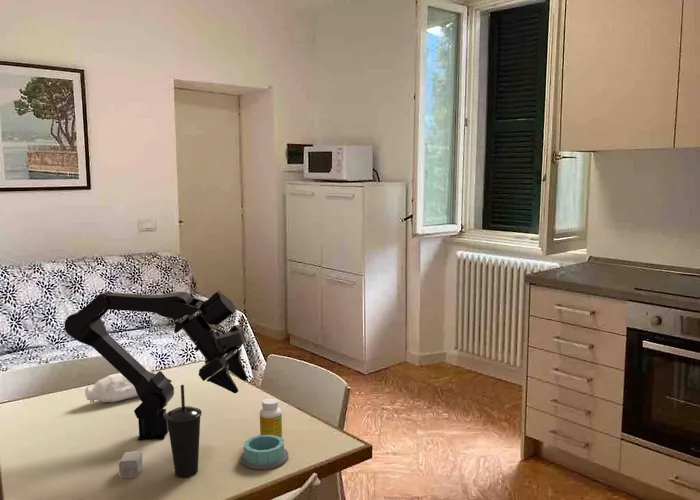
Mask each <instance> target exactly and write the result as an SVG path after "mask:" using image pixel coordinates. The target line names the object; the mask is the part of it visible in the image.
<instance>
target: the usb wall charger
mask: <svg viewBox="0 0 700 500" xmlns="http://www.w3.org/2000/svg"><path fill="white" fill-rule="evenodd" d="M143 466H144V463H143V453H142V451H138V450H137V451H126V452H124V454H123V455H122V457H121V458H120V459H119V463H118V471H119V475H118V476H119V478H120V479H128V478H129V479H131V478H137V477H138V476H139V475H140V473H141V470H142V468H143Z"/></svg>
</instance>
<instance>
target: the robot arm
mask: <svg viewBox="0 0 700 500" xmlns="http://www.w3.org/2000/svg"><path fill="white" fill-rule="evenodd" d="M109 310H111V311H112V310H113V311H128V312H144V313H153V314H156V315H159V316H160V317H163V318H167V319H172V320H176V321H175V322H174V324H175V325H174V331H173V333H174V334H178V333H179V332H180V331H181V330H183V331H184V333H185V334H186V335H187V336H188V338H189V339H190V341H191V342H192V343H193V344H194V345H195V347H194V348H193V349H194V351H195V352H198V351H199V352H200V354H201V355H202V356H203V357H204V358H205V360H204V363H205V364H203V366H201V367H200V368H199V370H198V376H199V378H200V379H201V380H202V382H204V381H206V382H207V383H212V384H213V385H216V386H218V387H221V388H223V389H225V390H227V391H229V392H232V393H233V394H237V393H238V392H239V389H238V387H237V384H236V383H235V381H234V380H233V378H232V376H231V373H232V374H233V375H235V376H236V377H238V378H239V379H240V380H242V381H243V382H245V381H246V380H248V375H247V373H246V371H245V368H244V365H243V363H242V360H241V353H242V350H243V349H242V345H244V344H245V342H246V341H247V338H246V335H245V334H246V331H245V330H244V328H243V327H242V328H241V326H239V325H238V324H236V325H232V326H231V327H230V330H229V331H228V332H226V333H224V334H223V333H222V332H221V331H220V330H219V331H218V330H214V329H213V327H212V326H219V325H221V324H222V323H223V322H224V321H226V320H227V319H228V318H230V317H231V316H232V315H234V314H235V313H236V311H237V310H236V305H234V303H233V301H232V299H230V298H228V297H227V296H226V295H225V294H224V293H223V294H222V293H221V291H219V290H217V291H216V292H214V293H213V294H212V295H211V296H210V297H209V298H207V300H202V299H198V298H195V297H192V296H191V294H190V293H189V292H187V291H176V292H169V293H164V294H155V295H154V294H140V293H139V294H138V293H124V292H123V293H122V292H112V291H109V290H108V291H104V292H102V293H99V294H98V295H97V296H95V298H94V299H93V300H91V302H89V303H87V305H85V306H84V307H83V308H82V309H81V310H79V311H77V312H74V313H72V314H71V315H69V316H68V317H66V319H65V321H64V330H65V333H66V334H67V335H68V336H70V337H72V338H73V339H74V340H76V341H77V342H79V343H82V344H84V345H86V346H90V347H92V348H93V349H94V350H95V351H96V352H97V353H99V354H100V355H101V356H102V358H103V359H105V360H106V361H107V363H109V364H110V365H111V366H112V367H113V368H114V369H115V370H116V371H117V372H118V373H121V374H122V375H123V376H124V377H125V378H126V379H127V380H128V381H129V382H130V383H132V384H133V386H134V387H135V390H136V392H137V395H138V396H137V397H138V398H139V400H140V401H141V402H140V404H138V406H137V407H136V408H135V409H134V411H133V413H134V415H135V417H136V419H138V421H137V423H138V437H137V438H136V439H137V441H142V442H143V441H157V440H158V441H160V440H161V441H162V440H165V438H166V437H167V434H169V429H168V423H167V420H166V418H165V415H166V414H167V409H166V408H165V407H167V405H168V403H169V402H170V401H171V400H172V399H173V397H174V394H175V387H174V385H173V384H172V379H169V378H167V377H166V375H165V374H164V373H163V372H162V371H161V370H158V371H157V372H156V373H154V374H153V373H151V372H149V371H147V370H146V369H145V368H146V367H144V366H143V365H142V364H141V363H140V362H139V361H138V360H137V359H135V357H134V356H133V355H131V354H130V353H129V352H128V351H127V350H126V349H125V348H124V347H123V346H122V345H121V344H120V343H118V341H116V340H115V339H114V338H113V337H112V336H111V335H110V334H109V332H108V331H107V328H106V326H105V323H104V321H103V320H102V319H101V318H103V316H105V315H106V313H107V312H108V311H109ZM198 311H200V312H199V313H198V314H197V315H194V314H195V313H197V312H198ZM185 316H186V317H185ZM184 317H185V318H184ZM182 318H184V319H182ZM180 319H182V320H180ZM229 372H231V373H229Z"/></svg>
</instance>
